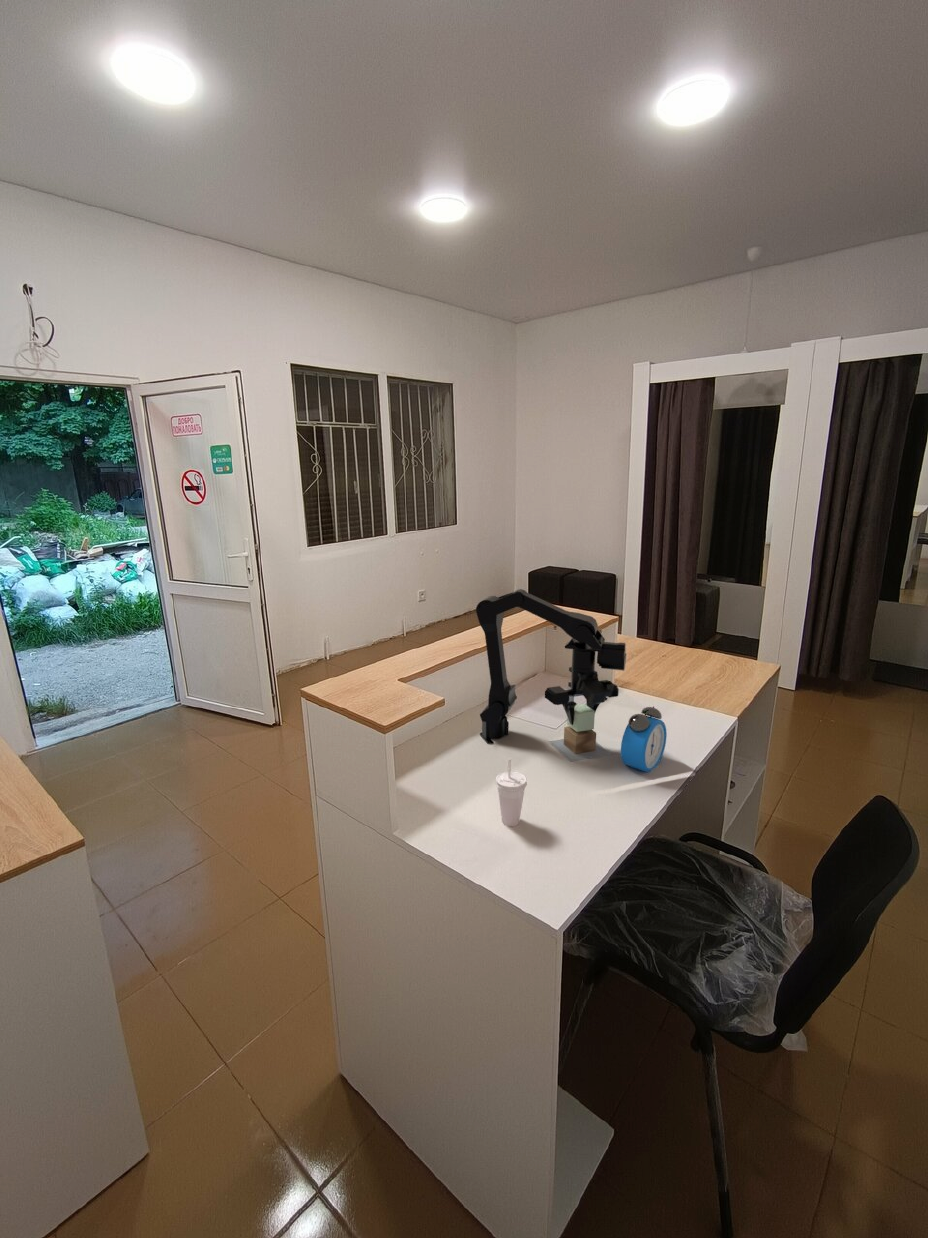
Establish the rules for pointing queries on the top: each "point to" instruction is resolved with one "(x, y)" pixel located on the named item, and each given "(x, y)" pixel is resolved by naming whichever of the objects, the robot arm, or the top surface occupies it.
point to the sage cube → (582, 718)
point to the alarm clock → (644, 740)
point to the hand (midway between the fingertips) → (580, 722)
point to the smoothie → (511, 795)
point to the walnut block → (579, 740)
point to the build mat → (574, 757)
